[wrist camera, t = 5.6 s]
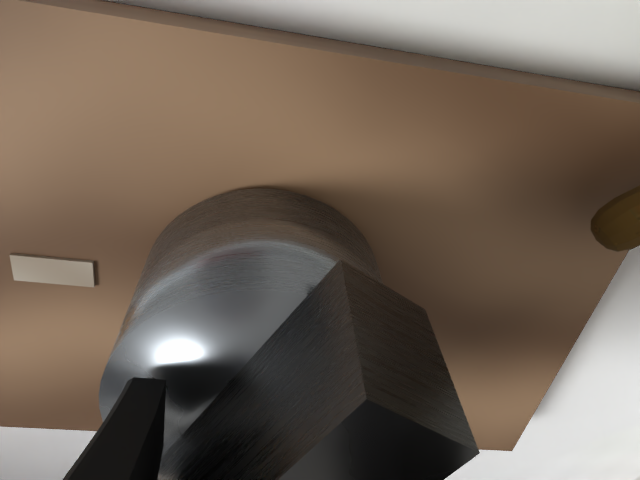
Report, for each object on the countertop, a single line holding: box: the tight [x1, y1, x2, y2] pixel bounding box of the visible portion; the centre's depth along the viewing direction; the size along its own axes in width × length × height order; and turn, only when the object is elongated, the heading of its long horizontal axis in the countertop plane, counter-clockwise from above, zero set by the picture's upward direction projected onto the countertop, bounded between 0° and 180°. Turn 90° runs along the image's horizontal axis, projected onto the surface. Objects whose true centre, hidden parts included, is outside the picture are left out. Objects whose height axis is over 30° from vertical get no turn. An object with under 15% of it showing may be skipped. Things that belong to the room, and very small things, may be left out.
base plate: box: [0, 0, 640, 451], centre depth 15 cm, size 13×20×2 cm, turn 80°
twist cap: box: [99, 189, 480, 480], centre depth 11 cm, size 6×8×7 cm
